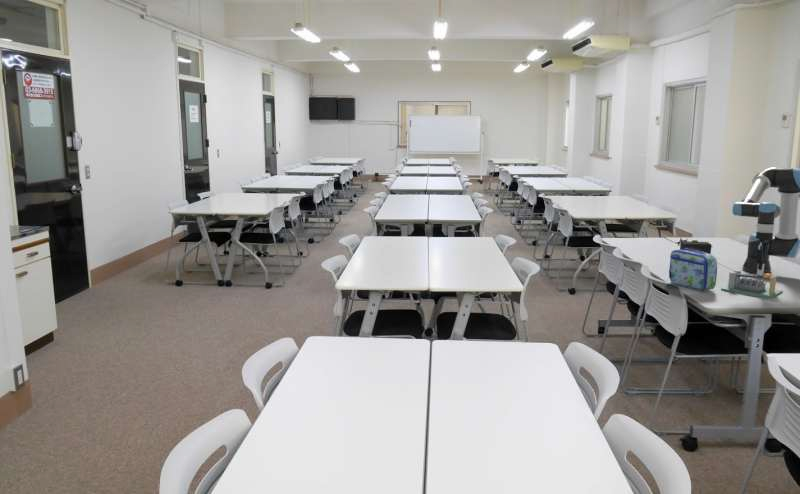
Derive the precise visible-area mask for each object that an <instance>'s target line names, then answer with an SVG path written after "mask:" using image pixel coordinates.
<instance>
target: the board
mask: <svg viewBox="0 0 800 494" xmlns="http://www.w3.org/2000/svg"><path fill="white" fill-rule="evenodd" d="M738 273H741V274H742V271H741V270H738V269H734V270H733V271H729V273H728V275H729V276H728V283H727V284H728V285H726V286H724V287H721V288H720V291H723V292H728V293H732V294H733V293H734V294H740V295H745V296H751V297H756V298H762V299H766V300H772V299H774V298H775V297H777V296H779V295H780V294H782V293H783V290H782V289H776V283H777V278H778V277H777V275H773V274H772V276H771V277H770V278H769V279H768V280H769V281H770V282H769V287H765V290H764V291H762V292H760V293H755V292H749V291H744V290H738V289H736V286H737V283H738V282H739V279H741V277H738V276H736V274H738Z"/></svg>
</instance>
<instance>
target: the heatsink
mask: <svg viewBox="0 0 800 494" xmlns="http://www.w3.org/2000/svg"><path fill="white" fill-rule="evenodd" d="M764 281H765V279H762V278H761V280H760V279H759V278H754V279H753V278H750V277H741V278H740V279H739V282H738V283H737V286H736V289H738V290H744V291H749V292H755V293H760V292H762V291H764V290H765V288H767V287H766V285H767V283H765V282H764Z"/></svg>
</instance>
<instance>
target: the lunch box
mask: <svg viewBox="0 0 800 494" xmlns="http://www.w3.org/2000/svg"><path fill="white" fill-rule="evenodd" d="M669 258H670V260H669V269H668V278H669V280H670V282H671V283H670V284H672V283H673V284H672V285H676V284H677V285H678V286H681V287H685V288H688V289H692V290H695V291H707V290H713V289H714V288H715V287H716V284H717V276H718V261H717V258H716V257H715V256H714V255H713V254H708V253H705V252H700V251H695V250H690V249H688V248H684V249H682V250H680V249H675V250H672V251H671V253H670V257H669ZM677 285H676V286H677Z"/></svg>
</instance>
